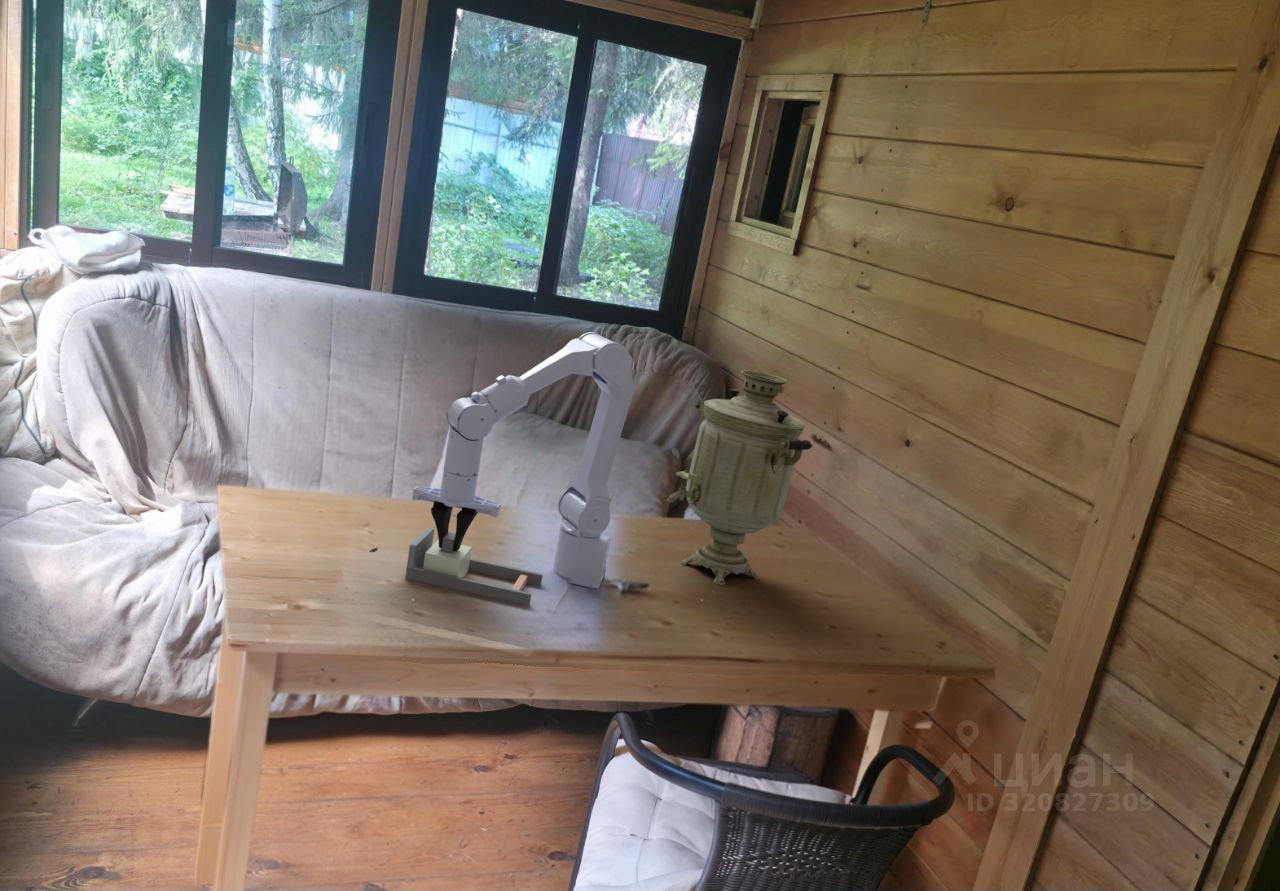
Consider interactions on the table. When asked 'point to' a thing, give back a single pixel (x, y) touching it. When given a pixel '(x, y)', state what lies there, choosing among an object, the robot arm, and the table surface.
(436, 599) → the table surface
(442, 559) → the pale green knobbed block
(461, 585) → the bay
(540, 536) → the table surface
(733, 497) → the samovar
